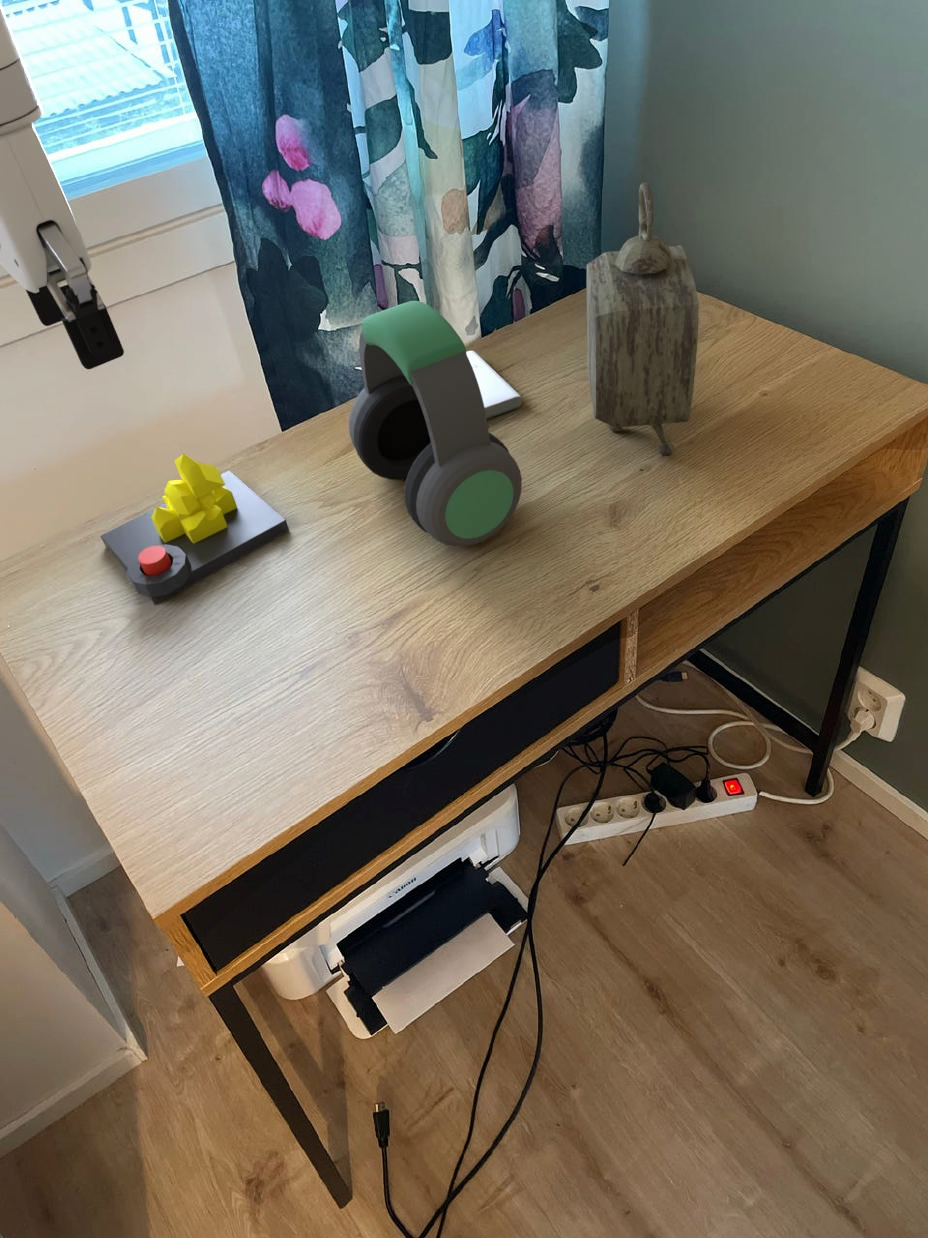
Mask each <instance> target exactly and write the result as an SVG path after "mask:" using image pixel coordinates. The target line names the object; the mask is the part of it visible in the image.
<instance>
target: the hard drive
mask: <svg viewBox="0 0 928 1238" xmlns="http://www.w3.org/2000/svg"><path fill="white" fill-rule="evenodd" d="M466 354H467V357H468V359H469V361H470V363H471V366H472V368H473V371H474V373H475V376H476V379H477V382H478V385H479V388H480V392H481V395H482V399H483V403H484V408H485V413H486V418H487V420H489V419H491V418H494V417H497V416H500V415H502V414H505V413H509V412H510V411H514V410H516V409H519V408H520V407H522V405H523V403H522V396H521V394H519V393H518V391H516V390H515V389H514V388H513V387H512V386H511V385H510V384H509V383H508V382H507V381H506V380H505V379H503V378H502V376H500V375H499V373H497V372H496V371H495V369H494V368H492V367H491V366H490V365H489V364H488V363H487V362H486V361H485V360H484V359H483V358H482V357H481V356H480V355H479V354H478V353H477V352H476V351H475V350H468V351H467V350H466Z"/></svg>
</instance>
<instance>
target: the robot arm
mask: <svg viewBox="0 0 928 1238" xmlns="http://www.w3.org/2000/svg"><path fill="white" fill-rule="evenodd" d="M42 116H44V108H43V106H42V104H41V101H40V98H39V96H38V94H37V92H36V89H35V86H34V83H33V82H32V80H31V76H30V73H29V71H28V69H27V66H26V63H25V61H24V58H23V57H22V53H21V51H20V49H19V46H18V44H17V41H16V39H15V36H14V34H13V30H12V29H11V26H10V24H9V21H8V19H7V16H6V13H5V11H4V9H3V6H2V4H1V2H0V266H1V267H2V268H3V269H4V270H5V271H6V272H7V273H8V274H9V275H10V276H11V277H12V278H13V279H14V280H15V281H16V282H17V283H18V284H19V285H20V286H21V287H22V288H23V289H24V290H25V292H26V294H27V296H28V298H29V300H30V302H31V304H32V306H33V308H34V311H35V313H36V315H37V317H38V319H39V321H40V323H41V324H42V325H43V326H45V327H50V326H52V325H55V324H58V323H61V322H62V325H63V327H64V329H65V331H66V334H67V336H68V337H69V340H70V342H71V344H72V346H73V348H74V351H75V353H76V355H77V357H78V360H79V363H80V364H81V366H82V367H83V368H84V369H86V370H92V369H94V368H97V367H100V366H102V365H105V364H107V363H109V362H111V361H114V360H116V359H119V358H121V357H123V356H124V354H125V349H124V348H123V345H122V342H121V341H120V338H119V336H118V333H117V330H116V329H115V326H114V323H113V321H112V318H111V316H110V314H109V311H108V308H107V307H106V305H105V303H104V301H103V299H102V297H101V295H100V294H99V292H98V290H97V288H96V285H95V284H94V283H93V281H92V279H91V278H90V275H89V272H90V271H91V268H92V260H91V257H90V254H89V251H88V249H87V246H86V243H85V240H84V238H83V236H82V233H81V230H80V227H79V226H78V223H77V221H76V218H75V216H74V213H73V212H72V209H71V207H70V204H69V202H68V200H67V197H66V195H65V193H64V190H63V188H62V186H61V183H60V181H59V179H58V177H57V174H56V172H55V170H54V167H53V165H52V163H51V161H50V157H49V154H48V153H47V152H46V150H45V147H44V146H43V144H42V141H41V138H40V137H39V135H38V132H37V131H36V127H35V126H34V124H33V123H36V122H37V121H38V120H39V119H41V117H42Z"/></svg>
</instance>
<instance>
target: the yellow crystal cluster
mask: <svg viewBox="0 0 928 1238" xmlns="http://www.w3.org/2000/svg"><path fill="white" fill-rule="evenodd" d="M173 461H174V463H175V467H176V469H177V471H178V474H179V476H180V478H181V479H174V480H168V482H167V484H166V486H165V489H164V491H163V492H164V495H162V499H163V502H164V503H165V504H166V506H167V509H165V508H161V507H158V506H156V507H155V508H156V509H155V511H154V513H153V515H152V516H151V518H152V520H153V523H154V525H155V527H156V529H157V531H158V534H159V536H160V537H161V538H162V539H163V541H164V542H165V543H166V542H168V541H170V540H172V539H174V538H176V537H179V536H181V535H183V534H186V535H187V536H188V538H189V539H190V540H191V541H192V542H193V544H194V543H196V542H198V541H200V540H202V539H204V538H206V537H208V536H210V535H212V534H214V533H216V532H218V531H220V530H222V529H224V528H226V527H228V526H227V524H226V521H225V519H224V516H223V515H224V514H226V513H228V512H230V511H232V510H234V509H236V508H237V505H236V502H235V499H234V497H233V494H232V491H229V490H228V489H227V488H224V487H222V486H224V485H226V484H225V482H224V481H223V479H222V477H221V474H220V471H219V470H218V469H217V467H216V465H213V464H207V463H204V462H197V461H195V459H192V457H190V456H188V455H186V453H182V454H181V455H180V456H178V457H177V458H176V459H175V460H173Z"/></svg>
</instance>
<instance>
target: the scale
mask: <svg viewBox="0 0 928 1238" xmlns="http://www.w3.org/2000/svg"><path fill="white" fill-rule="evenodd" d="M220 475H221V477H222V479H223V481H224V482H225V484H226V485H224V486H222V487H224V488H227V489H228V490H229V491H232V494H233V497H234V499H235V502H236V505H237V508H236V509H234V510H232V511H230V512H228V513H226V514H224V515H223V516H224V519H225V521H226V524H227V526H228V527H226V528H224V529H222V530H220V531H218V532H216V533H214V534H212V535H210V536H208V537H206V538H204V539H202V540H200V541H198V542H196V543H194V544H193V542H192V541H191V540H190V539H189V538H188V536H187V535H186V534H183V535H181V536H179V537H176V538H174V539H172V540H170V541H168V542H166V543H165V542H164V541H163V539H162V538H161V537H160V536H159V534H158V531H157V529H156V527H155V525H154V523H153V520H152V518H151V516H152V515H153V513H154V511H155V509H156V507H154V508H152V509H150V510H149V511H146V512H145V513H142V514H141V515H138V516H137V517H134V518H133V519H131V520H129V521H127V522H125V523H123V524H121V525H119V526H117V527H115V528H113V529H111V530H109V531H107V532H105V533H104V534H101V535H100V538H101V541H102V542H103V545H104V546H105V547H106V549H107V551H109V552H110V553H111V555H112V556H113V557H114V558H115V559H116V561H117V562H118V563H119V565H121V566H122V568H123V569H124V570H125V571H126V577H127V579H128V581H129V582H130V584H131V586H132V588H133V589H134V591H136V593H137V594H138V595H140V596H141V595H142V596H146V597H148V599H149V600H150V601H151V602H152V603H153V605H158V604H160V603H161V602H163V601H165V600H166V599H168V598H170V597H172V596H174V595H176V594H177V593H179V592H181V591H183V590H185V589H186V588H188V587H190V586H191V585H193V584H195V583H197V582H199V581H200V580H202V579H204V578H206V577H209V576H210V575H211V574H213V573H215V572H217V571H218V570H220V569H223V568H224V567H226V566H228V565H229V564H231V563H233V562H235V561H237V560H239V559H241V558H242V557H244V556H246V555H248V554H249V553H252V552H253V551H255V550H257V549H258V548H260V547H262V546H264V545H265V544H267V543H269V542H271V541H273V540H274V539H276V538H278V537H280V536H282V535H283V534H285V533H287V532H289V531H290V527H289V525H288V522H287V519H286V518H284V517H283V515H281V514H280V513H278V511H277V510H275V509H274V508H273V507H272V506H271V505H270V504H269V503H268V502H266V500H264V499H263V498H262V497H261V496H259V495H258V494H257V493H256V492H255V491H254V490H252V489H251V488H250V487H249V486H248V485H247V484H246V483H245V482H243V481H242V480H241V479H240V478H239V477H238V476H237V475H235V474H234V473H233V472H232V471H231V470H227V471H224V472H223V473H221V474H220ZM157 507H161V508H165V509H167V506H166V504H165V502H164V503H162V504H160V505H158V506H157ZM151 546H162V547H164V548H165V549H166V552H167V554H168V556H169V558H170V560H171V566H170V568H169V569H168V570H167V571H165V572H163V573H161V574H159V575H154V576H149V575H147V574H145V572H144V571H143V568H142V566H141V564H140V562H139V560H138V557H139V554H140V553H141V552H142V551H143V550H145V549H146V548H148V547H151Z"/></svg>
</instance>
